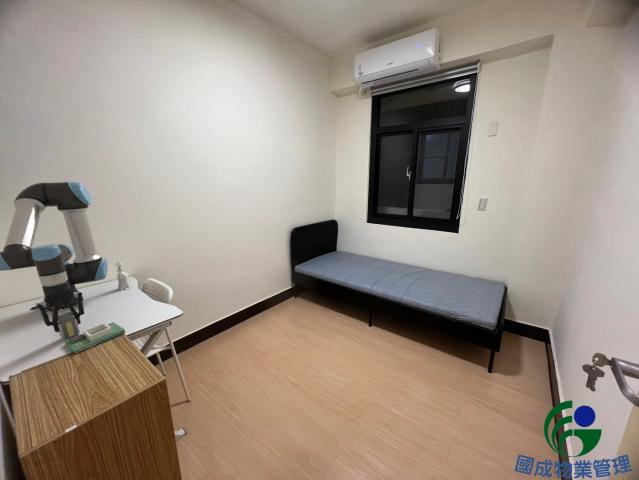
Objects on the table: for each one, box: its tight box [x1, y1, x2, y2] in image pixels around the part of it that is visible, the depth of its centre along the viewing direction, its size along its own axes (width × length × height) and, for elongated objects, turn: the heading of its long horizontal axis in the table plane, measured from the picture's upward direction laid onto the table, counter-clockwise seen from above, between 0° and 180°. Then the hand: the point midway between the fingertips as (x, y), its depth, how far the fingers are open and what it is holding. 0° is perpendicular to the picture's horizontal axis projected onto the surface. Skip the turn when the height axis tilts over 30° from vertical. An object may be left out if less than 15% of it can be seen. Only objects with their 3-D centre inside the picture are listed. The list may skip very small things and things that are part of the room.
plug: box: [58, 310, 80, 341], centre depth 104 cm, size 5×4×10 cm
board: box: [64, 322, 126, 353], centre depth 102 cm, size 12×16×4 cm
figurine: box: [113, 260, 134, 290], centre depth 153 cm, size 7×8×18 cm
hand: (70, 334), depth 105 cm, fingers closed on plug, 4 cm apart
